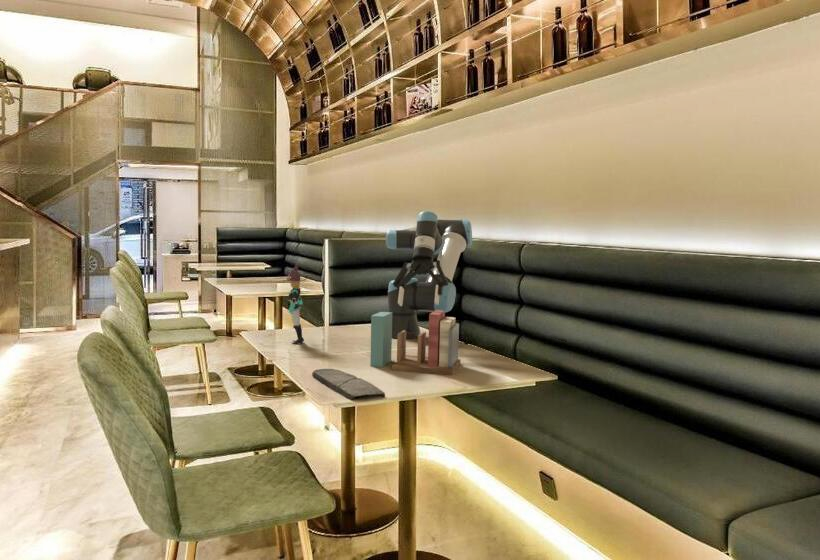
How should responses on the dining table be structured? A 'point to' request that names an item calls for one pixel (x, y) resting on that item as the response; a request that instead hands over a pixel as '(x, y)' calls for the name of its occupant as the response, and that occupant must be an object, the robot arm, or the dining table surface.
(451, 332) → the book rack
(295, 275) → the figurine
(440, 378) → the dining table surface
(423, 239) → the robot arm
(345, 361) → the dining table surface
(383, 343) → the book
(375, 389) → the stone slab
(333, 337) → the dining table surface
